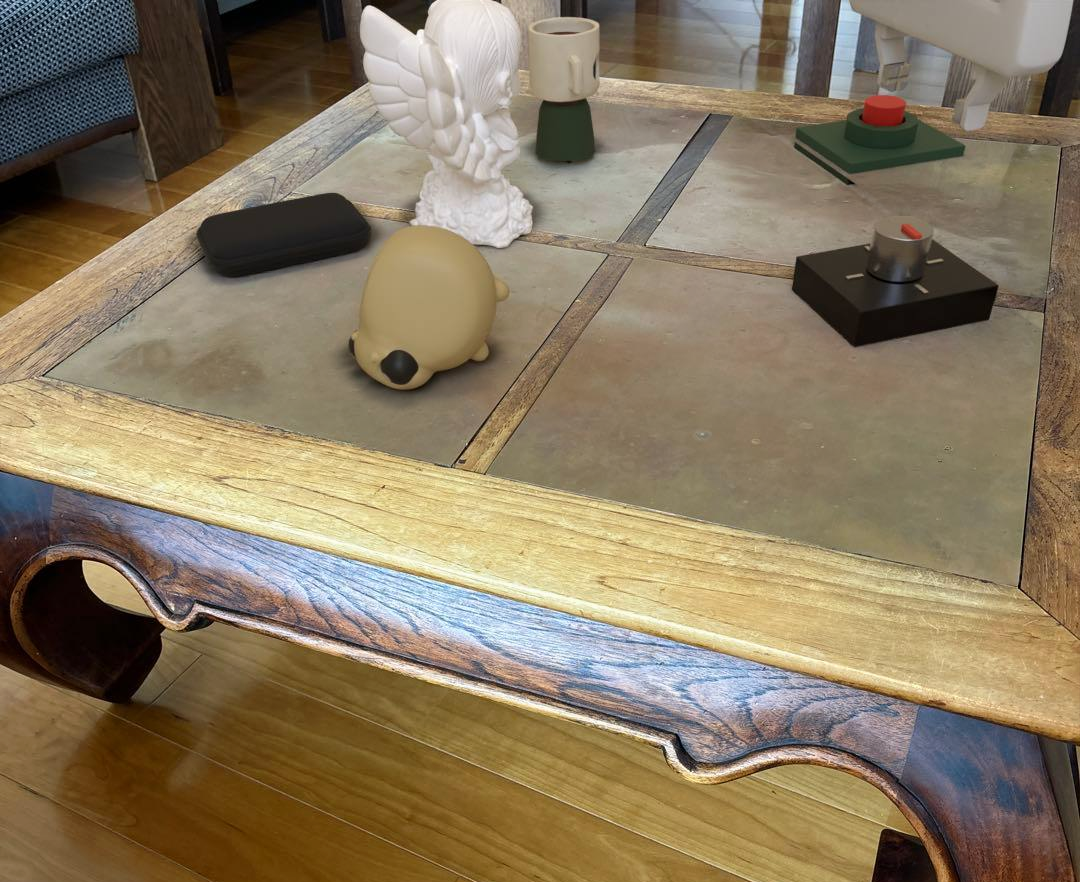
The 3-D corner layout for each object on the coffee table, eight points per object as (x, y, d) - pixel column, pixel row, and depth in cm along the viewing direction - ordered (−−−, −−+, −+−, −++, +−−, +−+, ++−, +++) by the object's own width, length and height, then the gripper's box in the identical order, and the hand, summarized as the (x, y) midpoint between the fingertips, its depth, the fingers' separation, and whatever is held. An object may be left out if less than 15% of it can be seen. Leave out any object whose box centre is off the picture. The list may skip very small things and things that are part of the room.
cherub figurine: (565, 238, 94) (562, -2, 81) (445, 274, 89) (421, 26, 76) (494, 192, 102) (481, -32, 89) (381, 223, 98) (349, -9, 85)
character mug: (612, 172, 105) (615, 36, 97) (546, 181, 104) (542, 44, 96) (583, 137, 114) (583, 8, 105) (521, 144, 112) (515, 15, 104)
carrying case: (346, 210, 100) (194, 240, 96) (341, 179, 98) (186, 209, 94) (379, 252, 93) (216, 287, 88) (374, 220, 91) (208, 254, 86)
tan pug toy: (404, 379, 83) (296, 329, 75) (478, 247, 81) (375, 182, 73) (466, 431, 77) (355, 383, 69) (548, 290, 74) (443, 223, 67)
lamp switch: (900, 131, 112) (907, 93, 109) (960, 167, 104) (970, 127, 101) (793, 148, 109) (798, 109, 107) (847, 185, 101) (854, 145, 99)
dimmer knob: (856, 261, 82) (864, 215, 80) (906, 254, 83) (916, 208, 80) (882, 285, 79) (892, 239, 76) (934, 278, 80) (946, 231, 77)
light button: (888, 113, 106) (892, 92, 105) (910, 125, 103) (914, 104, 102) (853, 118, 105) (857, 97, 104) (874, 131, 102) (878, 110, 101)
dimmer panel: (917, 266, 88) (925, 231, 86) (989, 320, 80) (1000, 283, 78) (791, 289, 85) (796, 254, 83) (854, 347, 78) (861, 310, 76)
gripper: (1129, -92, 60) (1059, 146, 69) (922, -137, 75) (887, 64, 84) (1038, -81, 58) (979, 161, 67) (846, -129, 73) (819, 74, 82)
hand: (927, 107), depth 76 cm, fingers open, 8 cm apart
